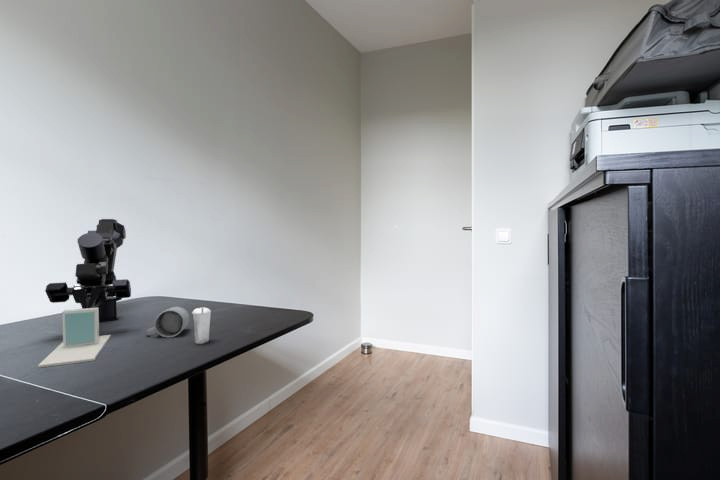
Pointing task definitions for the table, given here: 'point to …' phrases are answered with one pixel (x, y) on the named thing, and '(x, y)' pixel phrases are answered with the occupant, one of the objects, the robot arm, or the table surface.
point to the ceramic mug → (170, 322)
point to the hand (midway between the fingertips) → (86, 316)
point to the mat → (74, 353)
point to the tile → (80, 327)
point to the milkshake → (201, 324)
